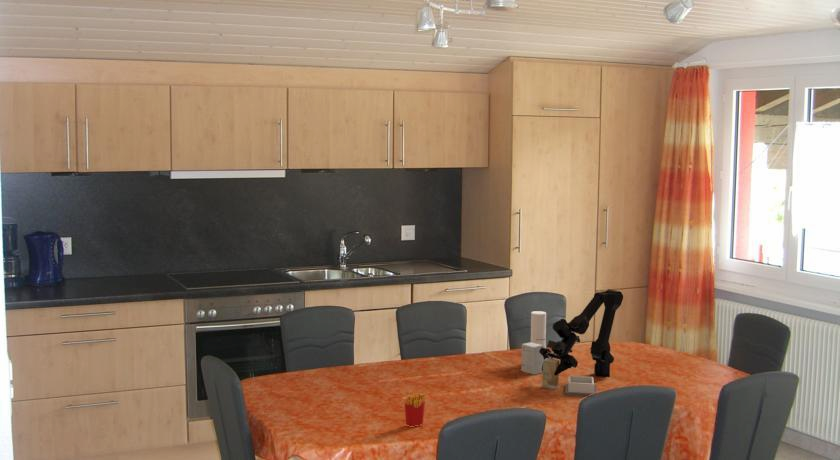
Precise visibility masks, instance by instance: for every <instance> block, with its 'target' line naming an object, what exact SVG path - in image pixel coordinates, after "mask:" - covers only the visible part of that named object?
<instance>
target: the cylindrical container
mask: <svg viewBox="0 0 840 460" xmlns="http://www.w3.org/2000/svg"><path fill="white" fill-rule="evenodd" d="M546 335H547V312H546V311H541V310H536V311H535V310H534V311H531V313H530V342H532V343H536V344H540V345H543V347H544V348H547V340H546V339H547V337H546ZM543 359H544V358H543Z"/></svg>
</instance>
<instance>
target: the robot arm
mask: <svg viewBox="0 0 840 460" xmlns="http://www.w3.org/2000/svg"><path fill="white" fill-rule="evenodd" d="M623 300H624V294H623V292H621V291H619V290H617V289H616V290H614V289H610V288H609V289H606V290H603V291H596V292H595V293H594V295H593V297H592V299H591V300H590V301H589V302H588V303H587V305H586V306H585V308H584V309H583V310H582V311H581V312H580V313H579V314H578V315H576V316H574V317H573V318H572V319H571V320H570V321H569V322H567V320H566V318H560V320H557V321H556V322H554V323H553V325H552V329H553V330H554V332H555V333H556V335H558V337H559V338H561V340H560V341H554V340H548V342H547V344H546V348H544V347H542V348H541V349H540V350H539V352H540V354H541V355H542V356H543V358H544V359H546V358H549V359H555V360H559V366H558V367H557V369H556V371H555V373H554V375H555V376H556V375H558V374H559V375H560V374H561V373H562V372H565V371H567V370H569V369H572V368H574V369H575V368H577V367H578V363H579V362H578V360H577V359H576V357H575V356H574V355H571V354H572V352H573V350H572V349H573V347H574V346H575V344H576V343H581V339H580V335H584V334H585V333H586V332H587V331H588V328H589V327H590V321H591V320H592V318H593V317H594V316H595V314H596V313H597V312H598V310H599V309H600V308H601V306H602V305H603V304H604V305H603V306H604V309H603V310H604V311H603V315H602V320H601V324H600V327H599V328H600V329H599V332H598V334H597V336H598V337H597V339H596V340H595V341H594V340H592V341H591V345H590V346H591V347H590V349H589V350H590V355H591V359H592V361H595V363H593V364H594V365H593V370H594V372H593V373H594V375H595V376H597V377H611V364H613V363H614V361H615V357H614V355H612V353H611V345H610V336H611V332H612V328H613V324H614V320H615V317H616V316H615V315H616V313H617V312H616V311H618V309H619V308H620V307H621V305H622V303H623ZM549 348H550V349H551V350H550V349H549ZM544 359H543V360H544ZM542 373H543V365H542Z"/></svg>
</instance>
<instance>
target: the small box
mask: <svg viewBox="0 0 840 460" xmlns="http://www.w3.org/2000/svg"><path fill="white" fill-rule="evenodd" d="M542 347H543V345H540V344H536V343H532V342H531V341H530V342H525V343H521V364H520V365H521V369H520V370H521V372H524V373H526V374H530V375H538V374H541V373H542V374H543V372H542V365H543V356H542V355H541V354H540V352H539V350H540V349H541V348H542Z"/></svg>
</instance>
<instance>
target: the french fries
mask: <svg viewBox="0 0 840 460" xmlns="http://www.w3.org/2000/svg"><path fill="white" fill-rule="evenodd" d="M425 399H426V393H423V392H422V393H420V392H417V393H416V392H414V393H411V394H408V395H407V396H406V397H405V403H404V413H405V424H407V425H409V426H415V425H420V424H422V423H423V424H424V417H425V416H424V414H425V405H426V403H425Z"/></svg>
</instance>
